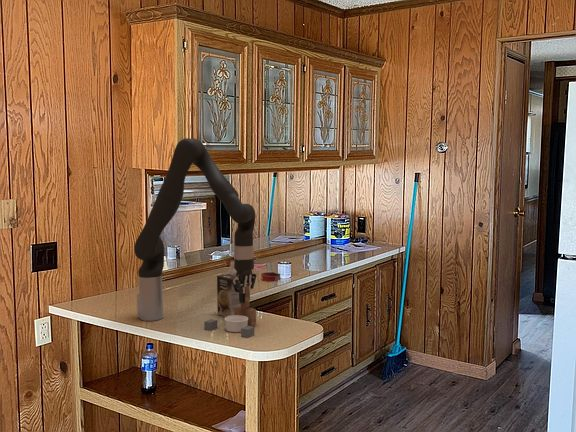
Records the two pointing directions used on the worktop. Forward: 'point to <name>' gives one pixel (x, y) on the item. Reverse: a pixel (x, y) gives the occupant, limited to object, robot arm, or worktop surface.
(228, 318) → the ramekin
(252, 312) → the stepped wooden block
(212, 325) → the slate blocks
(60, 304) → the worktop surface
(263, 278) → the red and clear container
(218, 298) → the coffee box
